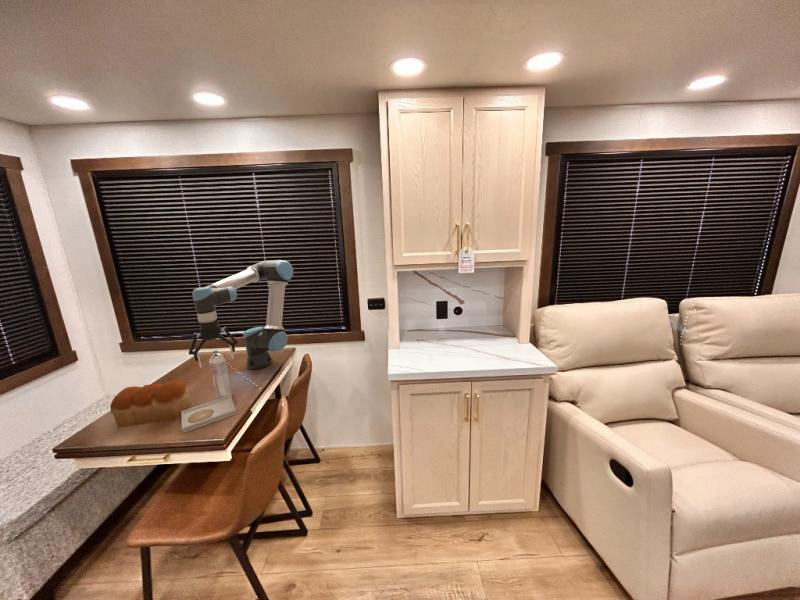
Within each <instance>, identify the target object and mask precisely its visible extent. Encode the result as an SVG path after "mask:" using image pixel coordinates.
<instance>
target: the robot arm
mask: <svg viewBox="0 0 800 600" xmlns="http://www.w3.org/2000/svg"><path fill="white" fill-rule="evenodd" d="M293 276H294V269H293V266H292V265H291V262H289V261H287V260H282V259H275V260H263V261H260V262H258V263H255V264H252V265H251V266H248V267H246V269H244V270H243V271H240V272H238V273H236V274H233V275H231V276H228V277H226V278H224V279H221V280H219V281H216V282H215V283H211V284H209V285H207V286H204V287H202V286H200V287H197V288H195V289H193V290H192V294H191V295H192V299H193V303H194V307H195V310H196V315H197V321H198V322H199V323H198V324H199V329H200V332H198V333H197V332H193V339H192V341H191V344H190V347H189V349H188V355H190V356H191V355H192V356H194V361H195V362H198V365H199V368H200V369H201V368H203V367H202V362H201V357H200V353H199V351H200V350H201V348H202V347H203V346H204V344H205V343H206V341H211V340H216V339H220V340H222V341H223V342H225V343H226V344H228V345H229V351H230V352H229V353H230V356H231V359H232V360H234V359H235V356H234V353H235V352H236V348H235V345H237V344H238V340H237V339H236V338H235V337H234V336H233V334H231V333H230V332H229V330H228V328H227V326H224V327H220V325H219V320H218V316H217V311H216V306H219V305H223V304H224V305H225V304H227V303H231V302H233V301H235V300H237V298H238V293H237V290H238V289H240V288H241V287H244V286H246V285H248V284H251V283H257V282H259V281H263V280H264V281H265V280H267V281H266V282H267V283H268V284H269V289H268V302H267V314H266V324H265V325H264V326H256V327H252V328H248V329H246V330H245V331H244V332H243V334H242V336H243V342H244V346H245V350H246V361H245V365H246V369H248V370H260V369H263V368H267V367H268V366H271V365H272V364H273V363H274V360H273V357H272V355H271V353H270V352H277V353H278V352H280V351H282V350H284V349H285V348H286V346H287V344H288V340H289V338H288V337H289V336H288V335H287V333H286V332H285V328H284V326H283V317H284V316H283V314H284V313H283V312H284V302H285V294H286V293H285V292H286V291H285V290H286V286H287V285H289V281H290V280H291V279H292V278H293ZM221 332H223V333H226V335H227V336H228V338H230V339H231V340H232V341H233V342H232V341H231V340H230V339H228V338H227V337H224V336H223V335H222V334H221ZM200 336H201V337H202V338H201V341H200V342H199V344H198V345H197V346H196V348H195V345H196V343H197V340H198V338H200Z"/></svg>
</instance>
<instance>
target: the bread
mask: <svg viewBox="0 0 800 600" xmlns="http://www.w3.org/2000/svg"><path fill="white" fill-rule="evenodd" d="M188 391H189V387H188V385H187V383H185V382H183V381H179V380H171V381H166V382H165V383H164V384H163V383H151V384H150V383H149V384H144V385H143V386H135V385H134V386H128V387H127V386H126V387H125V388H124V389H122V390H120V391H119V392H118V393H117V394H116V395H115V396H114V397H113V399H112V400H111V403H110V414H111V415H113V418H114V421H115V424H116V427H117V428H124V427H130V426H138V425H142V424H150V423H157V422H162V421H168V420H176V419H179V418H181V417H182V415H181V411H184V410H187V409H189V406H190V405H191V400H190V396H189V392H188Z"/></svg>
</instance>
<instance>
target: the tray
mask: <svg viewBox="0 0 800 600" xmlns="http://www.w3.org/2000/svg"><path fill="white" fill-rule="evenodd" d="M233 415H237V412H236V408H235V405H234V401H233V398H232V397H231V395H230V396H227V397H224V398H220V399H218V398H217V399H215V400H212V401H208V402H205V403H203V404H199V405H197V406H193V407H190V408H187V409H186V410H184V411H181V432H182V434H184V433H187V432H190V431H192V430H194V429H195V430H196V429H198V428H200V427H204V426H206V425H210V424H211V423H214V422H218V421H221V420H223V419H225V418H228V417H232V416H233Z"/></svg>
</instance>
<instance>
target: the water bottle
mask: <svg viewBox="0 0 800 600" xmlns="http://www.w3.org/2000/svg"><path fill="white" fill-rule="evenodd" d="M212 352H213V354H212V355H211V357H210V358H209V361H208V363H209V366H210V368H211V369H210V370H211V374H212V380H213V384H214V387H215V388H214V389H215V393H216V396H217V399H220V398H224V397H227V396H230V395H231V398H232V397H233V396H234V391H233V387H232V382H231V378H230V373H229V368H228V365H227V360H226V356H225V355H223V354H221V353H219V351H218V350H217V349H215V350H213V351H212Z"/></svg>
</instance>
